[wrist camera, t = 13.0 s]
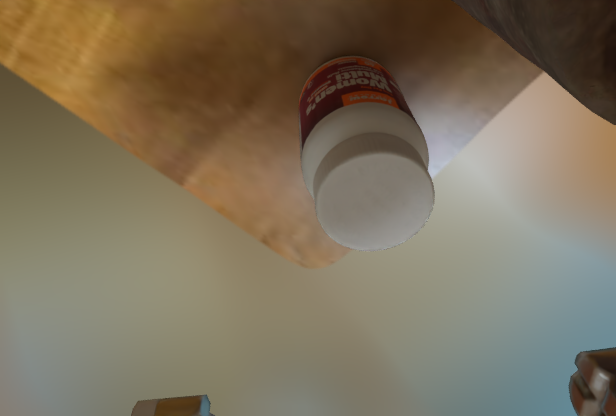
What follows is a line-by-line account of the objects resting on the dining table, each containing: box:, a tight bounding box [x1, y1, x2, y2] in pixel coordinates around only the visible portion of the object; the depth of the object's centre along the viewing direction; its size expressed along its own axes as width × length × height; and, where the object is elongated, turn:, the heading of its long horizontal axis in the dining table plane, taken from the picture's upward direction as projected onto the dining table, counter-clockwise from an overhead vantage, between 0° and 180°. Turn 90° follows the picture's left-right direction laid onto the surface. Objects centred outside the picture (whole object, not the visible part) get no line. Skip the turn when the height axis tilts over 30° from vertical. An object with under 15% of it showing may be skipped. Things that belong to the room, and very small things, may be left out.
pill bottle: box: [299, 56, 435, 251], centre depth 26 cm, size 6×6×11 cm
